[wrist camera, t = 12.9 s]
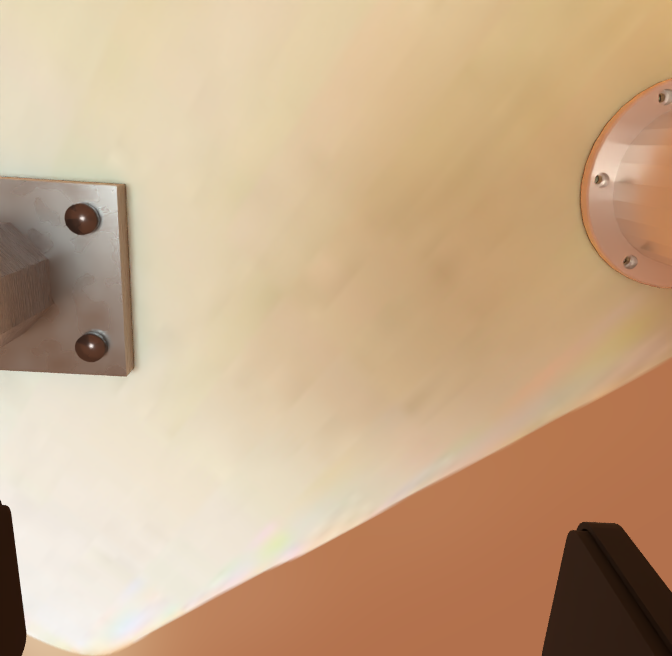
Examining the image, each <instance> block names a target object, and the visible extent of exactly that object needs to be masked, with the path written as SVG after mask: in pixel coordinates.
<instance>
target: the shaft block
mask: <svg viewBox="0 0 672 656" xmlns="http://www.w3.org/2000/svg"><path fill="white" fill-rule="evenodd" d="M0 222H10V223H11V224H12V225H13V226H15V227H16V228H17V229H18V230H19V231H20V232H21V233H22V234H23V235H24V236H25V237H26V238H27V239H28V240H29V241H30V242H32V243H33V244H34V245H35V246H36V247H37V248H38V249H39V250H40V251H41V252H42V253H43V254H44V255H45V256H46V257H47V258H48V259H49V270H50V280H51V291H52V302H53V305H52V306H51V307H50V308H49V309H48V310H47V311H46V312H45V313H44V314H43V315H42V316H41V317H40V318H39V319H38V320H37V321H36V322H35V323H34V324H33V325H32V326H31V327H30V328H29V329H28V330H27V331H26V332H25V333H24V334H23V335H21V336H19V337H18V338H16V339H14V340H13V341H11V342H10V343H8V344H6V345H5V346H3V347H2V348H0V370H10V371H30V372H49V373H69V374H89V375H108V376H127V375H128V374H129V373H130V372H131V371H132V370H133V368H134V357H133V337H132V316H131V295H130V274H129V254H128V233H127V212H126V192H125V184H113V183H97V182H80V181H64V180H47V179H31V178H14V177H0Z"/></svg>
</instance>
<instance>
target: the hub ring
mask: <svg viewBox="0 0 672 656" xmlns="http://www.w3.org/2000/svg"><path fill="white" fill-rule="evenodd" d="M52 305H53V302H52V291H51V280H50V270H49V259H48V258H47V257H46V256H45V255H44V254H43V253H42V252H41V251H40V250H39V249H38V248H37V247H36V246H35V245H34V244H33V243H32V242H30V241H29V240H28V239H27V238H26V237H25V236H24V235H23V234H22V233H21V232H20V231H19V230H18V229H17V228H16V227H15V226H13V225H12V224H11V223H10V222H0V348H2V347H3V346H5V345H6V344H8V343H10V342H11V341H13V340H14V339H16V338H18V337H19V336H21V335H23V334H24V333H25V332H26V331H27V330H28V329H29V328H30V327H31V326H32V325H33V324H34V323H35V322H36V321H37V320H38V319H39V318H40V317H41V316H42V315H43V314H44V313H45V312H46V311H47V310H48V309H49V308H50V307H51V306H52Z"/></svg>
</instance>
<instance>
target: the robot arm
mask: <svg viewBox="0 0 672 656" xmlns="http://www.w3.org/2000/svg"><path fill="white" fill-rule="evenodd" d="M659 94H660V95H661V101H660V102H659V99H658V96H659ZM597 175H598V177H599V181H598V182H597V183H596V184H595V178H596V176H597ZM581 210H582V217H583V223H584V226H585V228H586V231H587V234H588V237H589V239H590V241H591V243H592V244H593V246H594V247H595V249H596V251H597V252H598V254H599V255H600V256H601V257H602V258H603V259H604V260H605V261H606V262H607V263H608V264H609V265H610V266H611V267H612V268H613V269H615V270H617V271H618V272H620V273H621V274H623V275H624V276H626V277H628V278H631V279H633V280H635V281H637V282H640V283H643V284H646V285H650V286H654V287H658V288H672V78H671V79H668V80H665V81H662V82H659V83H657V84H655V85H654V86H652V87H650V88H648V89H646V90H645V91H643V92H641V93H639V94H638V95H637V96H635V97H634V98H633V99H632V100H630V101H629V102H628V103H627V104H626V105H624V106H623V107H622V108H621V109H620V110H619V111H618V112H617V113H616V114H615V116H614V117H613V118H612V119H611V120H610V121H609V122H608V123H607V125H606V126H605V128H604V129H603V131H602V132H601V134H600V136H599V137H598V139H597V140H596V142H595V144H594V146H593V148H592V151H591V153H590V155H589V158H588V160H587V163H586V166H585V171H584V175H583V179H582V184H581ZM626 257H627V260H626V262H625V263H623V261H624V259H625V258H626ZM25 643H26V626H25V618H24V610H23V603H22V595H21V587H20V579H19V571H18V563H17V556H16V548H15V540H14V532H13V524H12V516H11V511H10V508H9V507H8V506H6V505H2V504H1V501H0V656H22V653H23V650H24V647H25ZM542 656H672V592H671V591H670V590H669V588H668V587H667V586H666V585H665V583H664V582H663V581H662V579H661V578H660V577H659V575H658V574H657V573H656V571H655V570H654V569H653V567H652V566H651V565H650V564H649V562H648V561H647V560H646V558H645V557H644V556H643V554H642V553H641V552H640V550H639V549H638V548H637V547H636V545H635V544H634V543H633V542H632V540H631V539H630V537H629V536H628V535H627V533H626V532H625V531H624V530H623V528H622V527H621V526H619V525H618V524H615V523H596V522H582V523H580V525H579V526H578V528H577V530H572V531H570V532H569V533H568V536H567V539H566V544H565V548H564V553H563V557H562V562H561V567H560V572H559V576H558V581H557V586H556V590H555V595H554V600H553V605H552V609H551V613H550V618H549V623H548V627H547V632H546V637H545V641H544V647H543V651H542Z"/></svg>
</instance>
